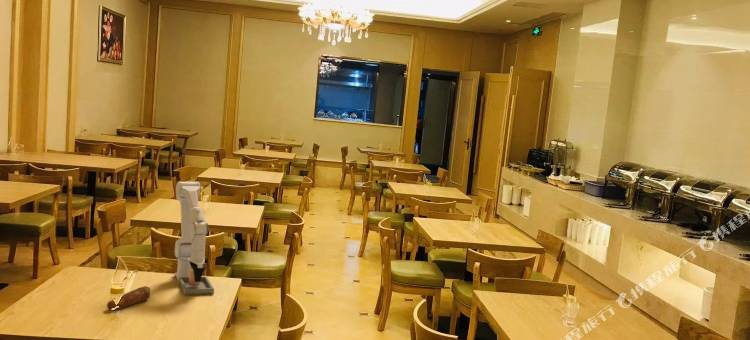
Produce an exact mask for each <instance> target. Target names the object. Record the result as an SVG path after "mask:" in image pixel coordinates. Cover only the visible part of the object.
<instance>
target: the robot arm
mask: <svg viewBox="0 0 750 340" xmlns="http://www.w3.org/2000/svg"><path fill="white" fill-rule="evenodd" d="M200 193H201V184H200V182H199V181H177V183H176V186H175V198H176V200H177V201H179V203H180V204H179V206H180V225H181V227H180V228H181V229H180V232H181V233H180V234H181V237H180V238H178V239H177V240H176V241H175V245H174V256H175V257H176V259H177V272H175V273H174V275H175V277H176V279H177V280H178V281H179V277H189V275H190V268H191V267H192V268H193V271H194V279H195V282H200V280H201V277H203V273H204V271H205V270H206V266H205V265H204V263H205V261H206V259H205V258H206V257H205V255H206V253H205V252H206V242H207V241H206V240H207V235H208V233H209V223H208V222H207V220H206V219H205V217H204V213H203V209H202V208H201V207H199V195H200Z"/></svg>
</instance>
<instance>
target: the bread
mask: <svg viewBox="0 0 750 340" xmlns="http://www.w3.org/2000/svg"><path fill="white" fill-rule="evenodd" d="M122 295H123V296H122ZM122 295H121V296H122V297H121V299H120V301H119V303H118V304H117V305H116V304H115V302H114V301H113V299H112V301H111V300H109V301H108V303H107V305H106V308H107V309H108V311H111V310H110V309H112V308H115V307H116V306H119V307H123V308H126V307H129V306H132V305H135V304H138V303H141V302H144V301H147V300H148V299H150V297H151V288H150V287H149V286H146V285H144V286H140V287H138V288H136V289H133V290H130V291H128V292H126V293H124V294H122Z"/></svg>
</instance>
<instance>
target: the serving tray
mask: <svg viewBox="0 0 750 340" xmlns="http://www.w3.org/2000/svg"><path fill="white" fill-rule="evenodd" d="M188 280H189V277H179V280H178V285H179V286H180V289H181V290H182V293H183V295H184V296H204V294H206V295H214V294H215V288H214V286H213V285H212V283H211V281H210V280H209V277H208V276H207V275H205V276H203V275H202V277H201V280H200V285H199V286H191V285H188Z"/></svg>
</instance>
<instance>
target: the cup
mask: <svg viewBox="0 0 750 340" xmlns="http://www.w3.org/2000/svg"><path fill="white" fill-rule="evenodd" d="M188 285H191V286H199V285H200V282H195V279H194V271H193V268H192V267H191V268H190V275H189V280H188Z"/></svg>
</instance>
